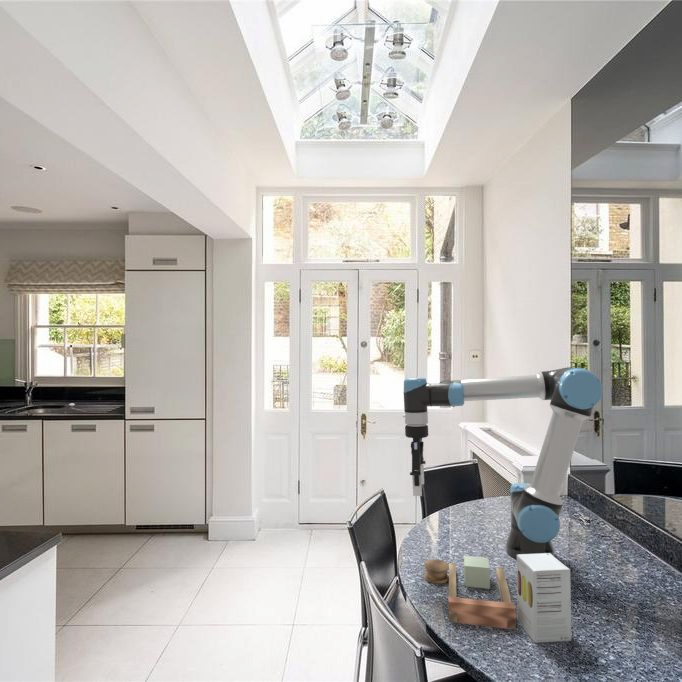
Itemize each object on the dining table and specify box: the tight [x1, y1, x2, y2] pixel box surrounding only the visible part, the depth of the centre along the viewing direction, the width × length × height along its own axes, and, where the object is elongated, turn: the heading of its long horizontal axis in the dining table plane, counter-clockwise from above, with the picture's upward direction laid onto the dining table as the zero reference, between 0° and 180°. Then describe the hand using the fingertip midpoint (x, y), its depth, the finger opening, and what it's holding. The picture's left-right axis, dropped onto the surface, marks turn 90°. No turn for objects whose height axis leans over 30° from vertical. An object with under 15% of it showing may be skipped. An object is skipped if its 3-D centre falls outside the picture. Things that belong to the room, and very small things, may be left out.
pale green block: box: [463, 555, 491, 590], centre depth 139 cm, size 7×7×6 cm
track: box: [448, 563, 517, 630], centre depth 130 cm, size 16×28×5 cm, turn 167°
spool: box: [423, 558, 449, 585], centre depth 142 cm, size 7×7×4 cm
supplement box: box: [516, 553, 572, 644], centre depth 115 cm, size 10×9×17 cm
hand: (418, 489), depth 154 cm, fingers open, 13 cm apart
